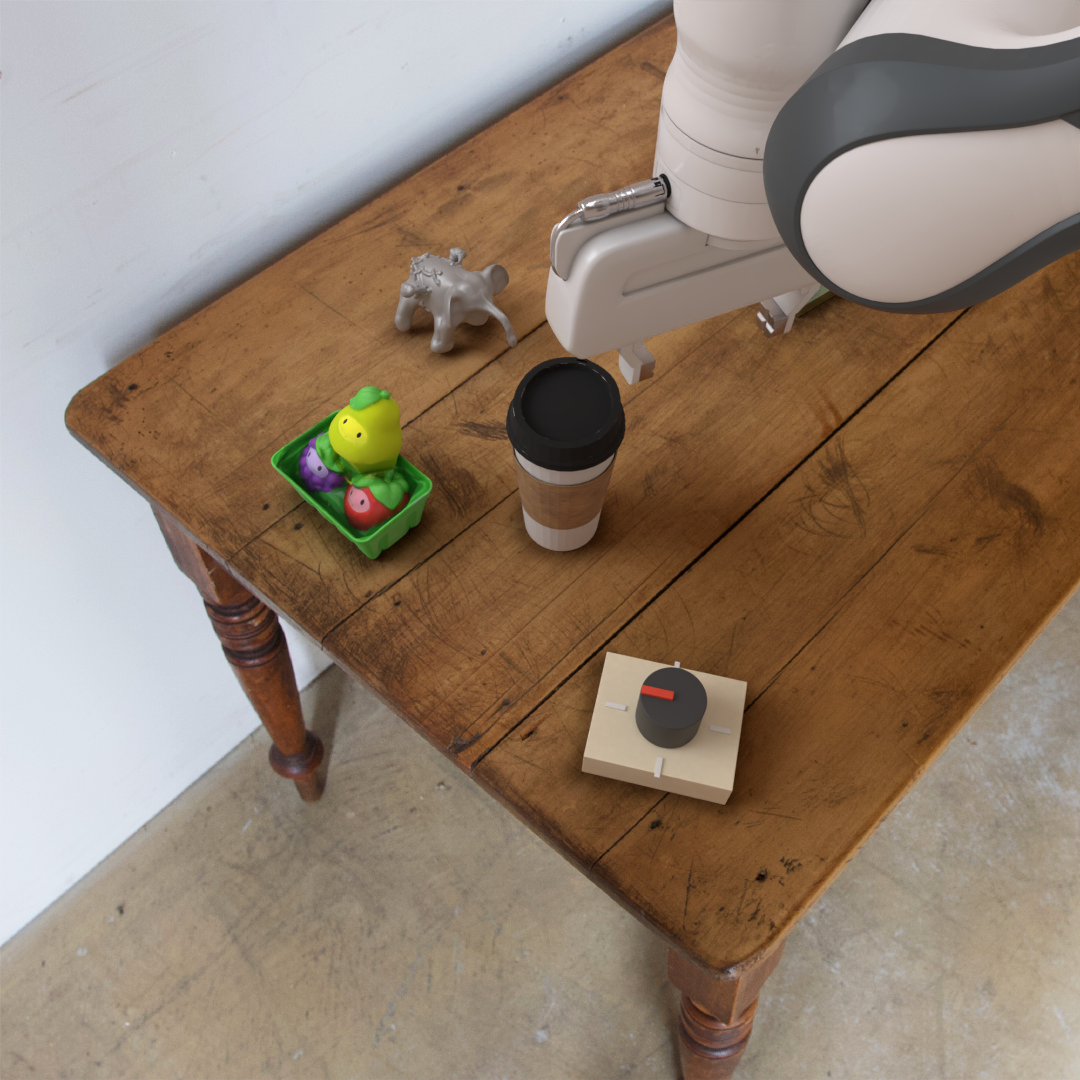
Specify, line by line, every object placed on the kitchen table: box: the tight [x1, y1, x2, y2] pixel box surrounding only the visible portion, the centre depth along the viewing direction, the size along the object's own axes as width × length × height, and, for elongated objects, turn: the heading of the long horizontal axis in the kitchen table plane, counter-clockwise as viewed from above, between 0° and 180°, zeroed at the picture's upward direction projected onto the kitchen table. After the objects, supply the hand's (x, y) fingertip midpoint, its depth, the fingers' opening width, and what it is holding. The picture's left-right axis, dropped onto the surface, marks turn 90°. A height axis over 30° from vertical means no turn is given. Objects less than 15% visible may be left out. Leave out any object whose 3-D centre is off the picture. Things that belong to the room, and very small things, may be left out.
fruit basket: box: [270, 385, 433, 561], centre depth 76 cm, size 11×9×11 cm
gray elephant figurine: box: [394, 246, 518, 354], centre depth 88 cm, size 9×12×8 cm
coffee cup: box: [505, 356, 627, 552], centre depth 74 cm, size 8×8×15 cm
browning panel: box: [581, 651, 748, 805], centre depth 69 cm, size 10×9×3 cm
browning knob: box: [635, 667, 707, 748], centre depth 66 cm, size 4×4×4 cm
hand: (704, 351), depth 60 cm, fingers open, 8 cm apart
